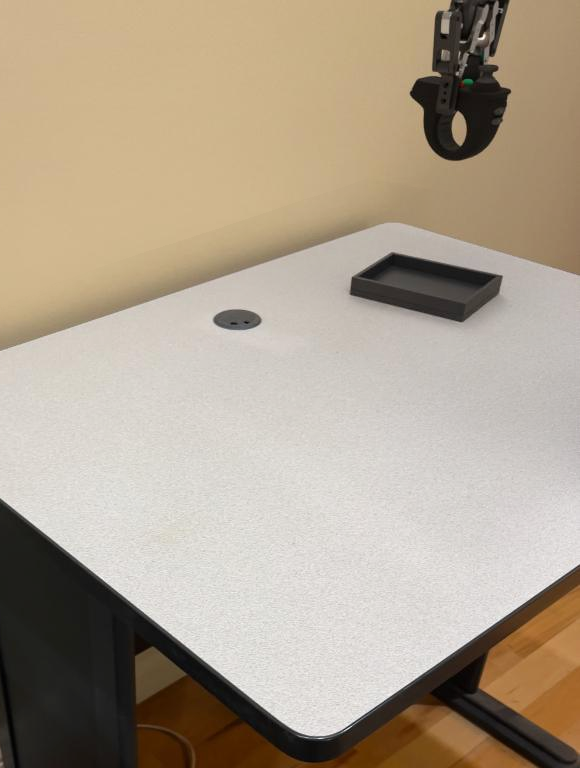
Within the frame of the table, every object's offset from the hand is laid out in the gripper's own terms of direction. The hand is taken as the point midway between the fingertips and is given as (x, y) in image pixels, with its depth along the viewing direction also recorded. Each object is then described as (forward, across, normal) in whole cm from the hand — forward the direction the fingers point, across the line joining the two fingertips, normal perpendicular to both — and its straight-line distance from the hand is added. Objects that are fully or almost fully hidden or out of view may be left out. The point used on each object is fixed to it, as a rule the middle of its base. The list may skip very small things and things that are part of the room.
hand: (456, 107), depth 103 cm
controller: (+6, 0, 0) cm, 6 cm away
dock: (+23, +3, +1) cm, 23 cm away
